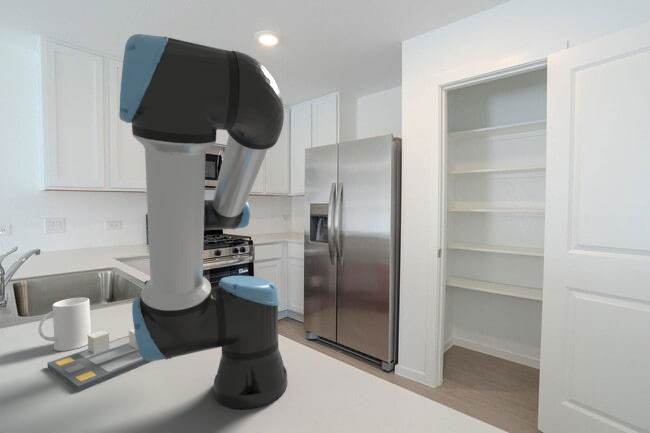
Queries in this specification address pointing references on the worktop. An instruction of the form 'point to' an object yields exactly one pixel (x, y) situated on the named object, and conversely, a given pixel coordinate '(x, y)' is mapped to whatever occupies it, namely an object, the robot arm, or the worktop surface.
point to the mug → (69, 324)
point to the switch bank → (97, 364)
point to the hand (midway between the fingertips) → (172, 337)
